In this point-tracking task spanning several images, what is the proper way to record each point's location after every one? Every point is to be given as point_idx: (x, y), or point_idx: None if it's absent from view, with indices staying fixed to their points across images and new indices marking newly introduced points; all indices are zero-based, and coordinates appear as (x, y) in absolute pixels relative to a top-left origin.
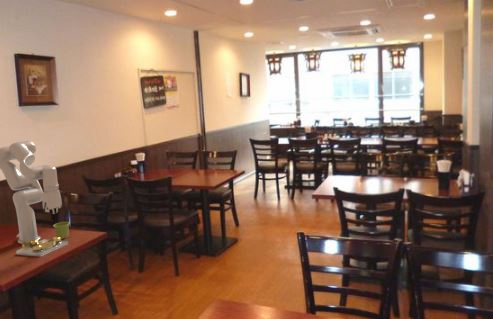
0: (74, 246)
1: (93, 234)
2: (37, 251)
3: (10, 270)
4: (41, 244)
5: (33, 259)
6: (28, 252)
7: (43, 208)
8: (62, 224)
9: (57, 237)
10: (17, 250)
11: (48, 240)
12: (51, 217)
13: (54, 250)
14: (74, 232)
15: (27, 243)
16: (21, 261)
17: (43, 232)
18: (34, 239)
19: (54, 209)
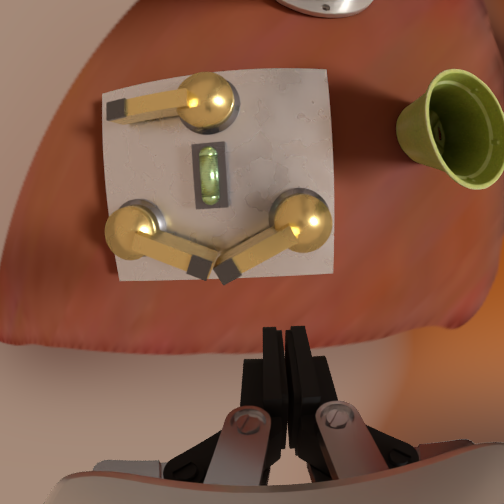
0: None
1: (471, 276)
2: None
3: (11, 271)
4: (144, 252)
5: (93, 265)
6: (107, 188)
7: (62, 488)
8: (486, 106)
9: (316, 222)
10: (109, 93)
11: (199, 260)
12: (242, 378)
13: None
14: None
15: (137, 116)
16: (60, 227)
17: None
18: (319, 1)
19: (352, 459)
